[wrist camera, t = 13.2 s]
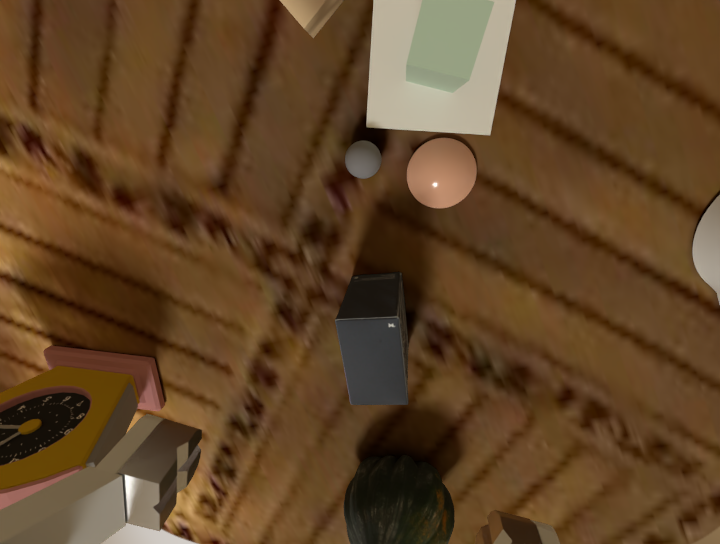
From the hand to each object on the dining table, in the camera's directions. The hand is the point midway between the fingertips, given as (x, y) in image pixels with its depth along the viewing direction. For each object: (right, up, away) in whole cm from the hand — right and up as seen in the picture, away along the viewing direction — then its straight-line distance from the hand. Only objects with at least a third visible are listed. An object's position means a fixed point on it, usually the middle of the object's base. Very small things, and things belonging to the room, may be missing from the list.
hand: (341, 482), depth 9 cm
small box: (+3, +1, +33) cm, 34 cm away
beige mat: (+7, +25, +22) cm, 35 cm away
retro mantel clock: (-38, -10, +43) cm, 58 cm away
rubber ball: (+1, +17, +25) cm, 30 cm away
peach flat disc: (+9, +16, +26) cm, 32 cm away
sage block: (+7, +25, +22) cm, 34 cm away
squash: (+6, -25, +44) cm, 51 cm away
